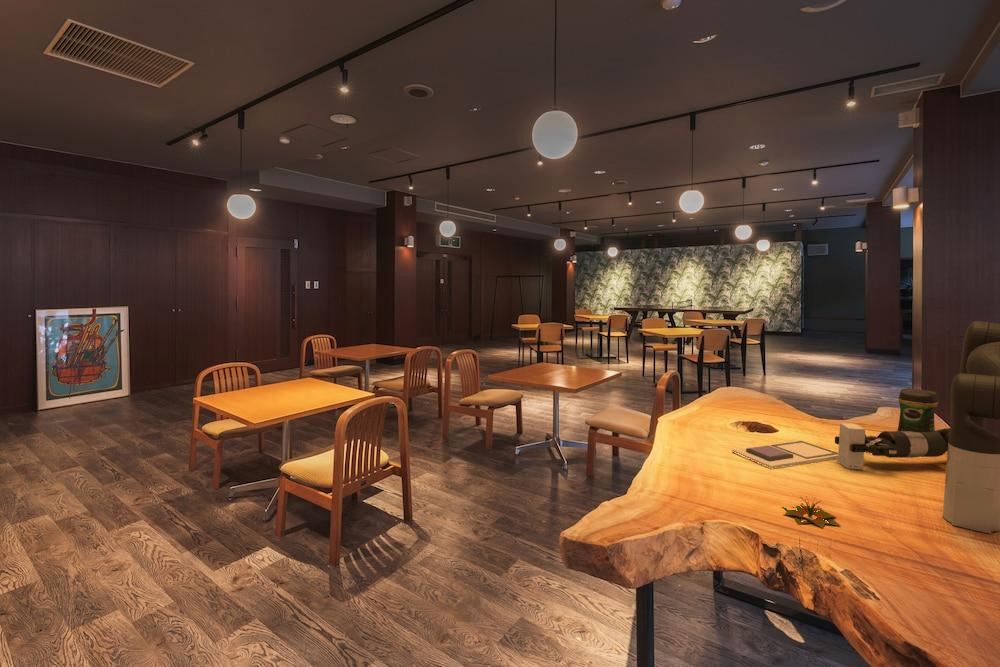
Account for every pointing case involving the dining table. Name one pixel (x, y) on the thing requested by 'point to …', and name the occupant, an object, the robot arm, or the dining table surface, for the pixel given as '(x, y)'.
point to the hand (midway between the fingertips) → (843, 444)
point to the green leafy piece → (810, 512)
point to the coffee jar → (917, 410)
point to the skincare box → (846, 438)
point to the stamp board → (787, 454)
